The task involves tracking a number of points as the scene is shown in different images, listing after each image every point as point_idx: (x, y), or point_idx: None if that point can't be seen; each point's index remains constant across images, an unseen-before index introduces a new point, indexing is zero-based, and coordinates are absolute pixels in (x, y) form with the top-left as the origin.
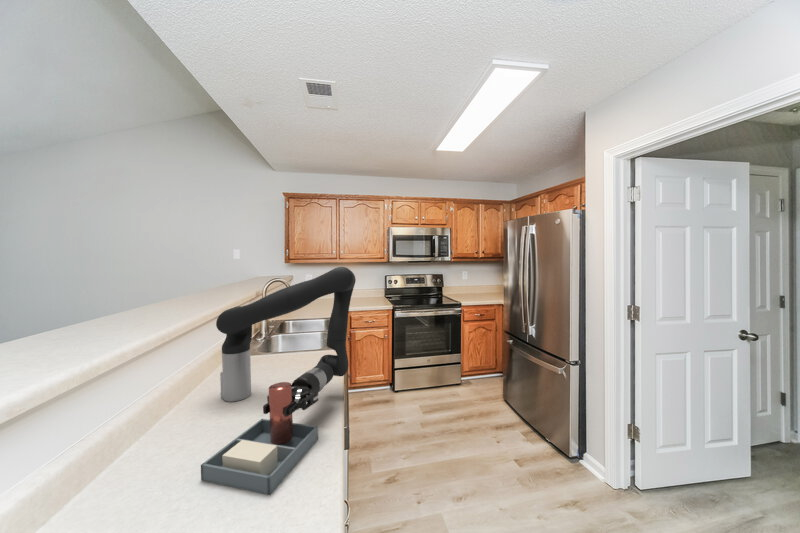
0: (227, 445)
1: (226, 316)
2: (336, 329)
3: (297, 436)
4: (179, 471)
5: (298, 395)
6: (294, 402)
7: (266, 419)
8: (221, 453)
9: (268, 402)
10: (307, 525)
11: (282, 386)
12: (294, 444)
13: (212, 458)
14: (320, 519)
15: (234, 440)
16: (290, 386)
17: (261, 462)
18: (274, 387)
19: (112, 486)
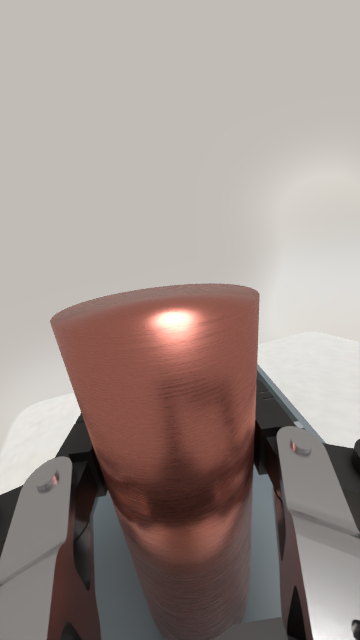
0: (284, 399)
1: None
2: None
3: None
4: (330, 391)
5: (6, 583)
6: (70, 452)
7: None
8: (268, 388)
9: (257, 392)
10: (61, 396)
11: (139, 301)
12: (144, 615)
13: (257, 371)
14: (42, 406)
15: (298, 417)
16: (58, 313)
17: None
18: (193, 290)
19: (352, 354)
